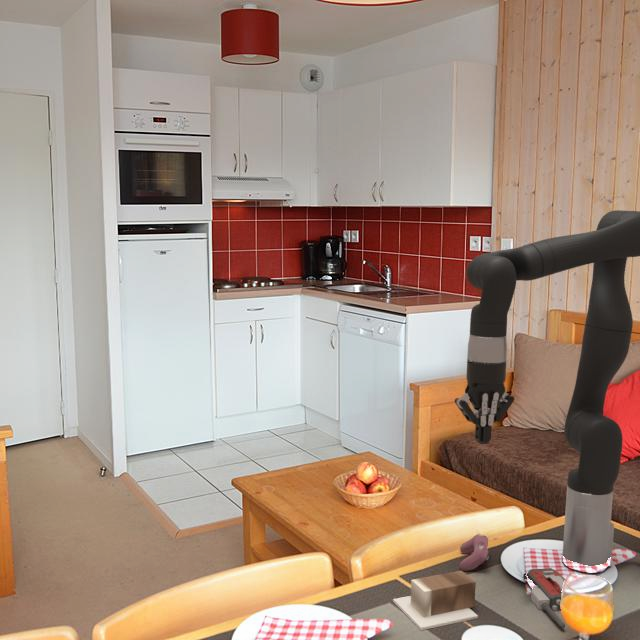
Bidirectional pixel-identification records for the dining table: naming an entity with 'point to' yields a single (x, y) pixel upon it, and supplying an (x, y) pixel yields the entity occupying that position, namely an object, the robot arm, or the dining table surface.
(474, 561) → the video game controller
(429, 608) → the walnut block
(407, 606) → the cream square tile
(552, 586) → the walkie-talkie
